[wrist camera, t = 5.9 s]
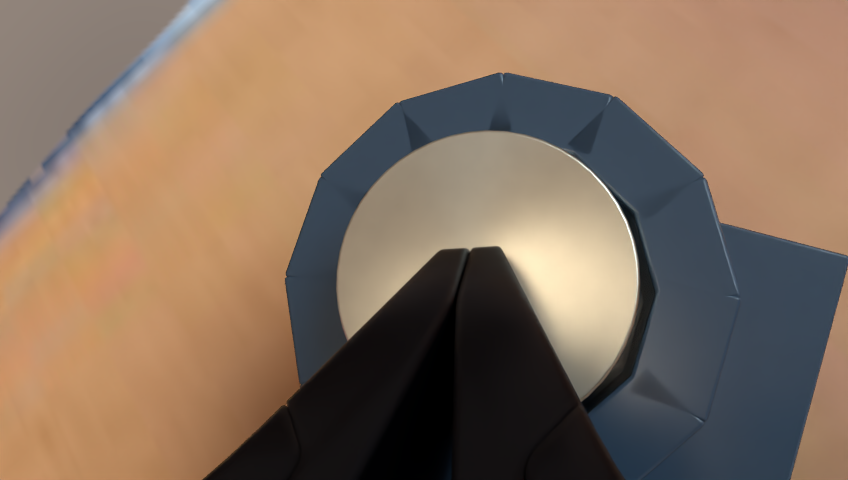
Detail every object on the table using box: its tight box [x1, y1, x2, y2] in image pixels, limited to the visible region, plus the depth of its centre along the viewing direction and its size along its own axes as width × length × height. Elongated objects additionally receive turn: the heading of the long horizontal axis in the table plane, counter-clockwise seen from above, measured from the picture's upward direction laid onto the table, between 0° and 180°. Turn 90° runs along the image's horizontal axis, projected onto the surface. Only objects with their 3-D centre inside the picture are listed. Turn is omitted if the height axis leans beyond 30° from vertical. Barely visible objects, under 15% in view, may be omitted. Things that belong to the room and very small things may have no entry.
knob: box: [336, 130, 640, 402], centre depth 10 cm, size 4×4×2 cm
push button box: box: [285, 73, 848, 480], centre depth 13 cm, size 11×9×6 cm
